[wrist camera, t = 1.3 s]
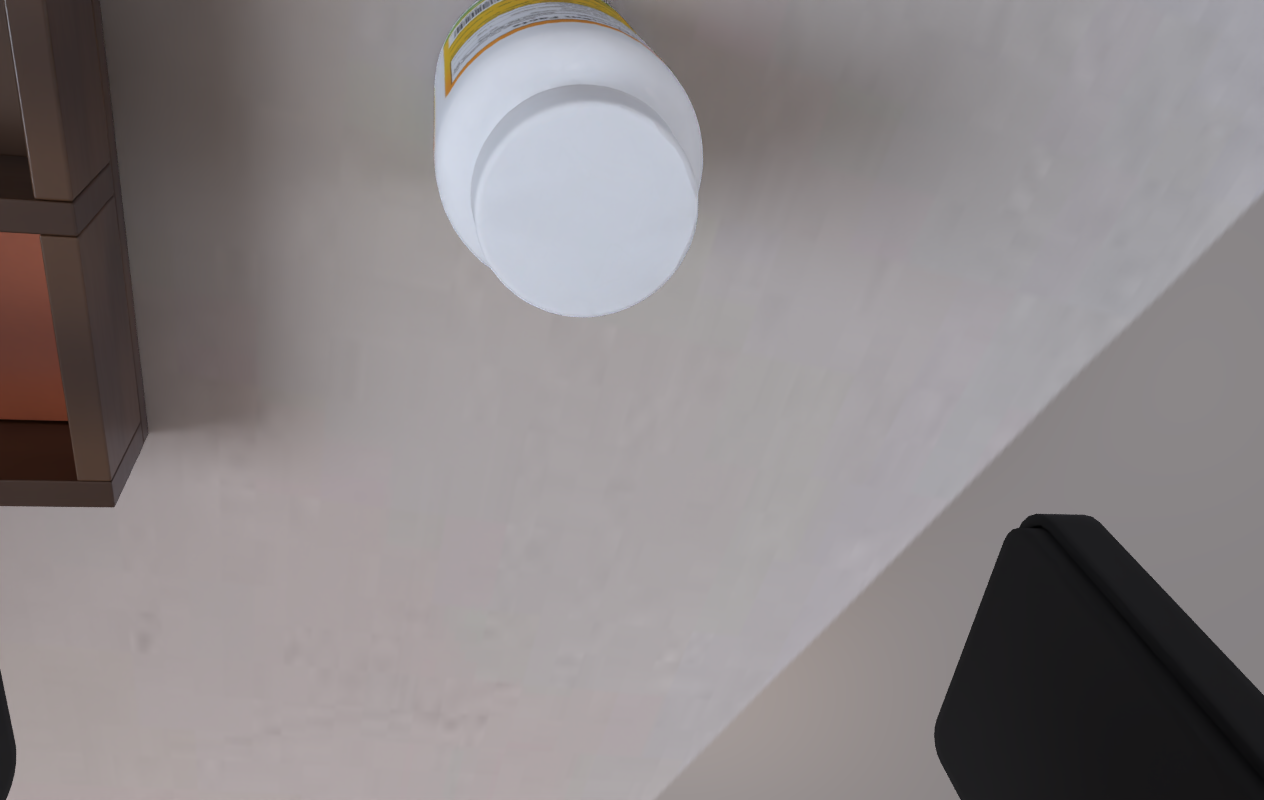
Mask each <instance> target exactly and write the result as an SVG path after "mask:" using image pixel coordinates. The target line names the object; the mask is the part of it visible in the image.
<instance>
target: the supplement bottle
mask: <svg viewBox="0 0 1264 800" xmlns="http://www.w3.org/2000/svg"><path fill="white" fill-rule="evenodd" d="M434 166H435V173H436V180H437V185H438V190H439V194H440V197H441V201H442V204H443V207H444V209H445V212H446V214H447V217H448V219H449V221H450V222H451V224H452V226H453V228H454V230H455V231H456V233H457V234H458V236H459V237H460V239H461V240H462V242H463V243H464V244H465V245H466V246H467V248H468V249H469V250H470V251H471V252H472V253H473V254H474V255H475V256H476V257H477V258H478V259H479V260H480V261H481V262H482V263H483V264H485V265H486V266H488V267H489V268H490V269H492V270H493V272H494V273H495V275H496V276H497V277H498V278H499V280H500V281H501V282H502V283H503V284H504V285H505V286H506V287H507V288H508V289H509V290H511V291H512V292H513V293H514V294H515V295H516V296H518V297H519V298H521V299H522V300H524V301H525V302H527V303H529V304H531V305H533V306H535V307H537V308H539V309H542V310H544V311H547V312H550V313H553V314H559V315H563V316H569V317H583V318H585V317H597V316H603V315H608V314H612V313H616V312H619V311H622V310H624V309H627V308H629V307H632V306H634V305H636V304H637V303H639V302H641V301H643V300H645V299H646V298H648V297H649V296H651V295H652V294H653V293H654V292H656V291H657V290H658V289H659V288H661V287H662V286H663V285H664V284H665V283H666V282H667V281H668V280H669V279H670V277H671V276H672V275H673V274H674V272H675V271H676V270H677V269H678V267H679V266H680V264H681V263H682V261H683V259H684V257H685V255H686V253H687V252H688V250H689V248H690V245H691V242H692V240H693V237H694V233H695V229H696V225H697V219H698V191H699V188H700V183H701V178H702V170H703V147H702V138H701V132H700V127H699V124H698V120H697V117H696V114H695V111H694V108H693V106H692V103H691V101H690V99H689V97H688V95H687V93H686V92H685V90H684V88H683V87H682V85H681V84H680V82H679V81H678V80H677V78H676V77H675V75H674V74H673V73H672V72H671V70H670V69H669V68H668V67H667V65H666V64H665V63H664V62H663V61H662V60H661V59H660V57H659V56H657V55H656V54H655V52H654V51H653V50H652V49H651V48H650V47H649V46H648V45H647V44H646V43H645V42H644V41H643V40H642V39H641V38H640V37H639V36H638V35H637V34H636V32H635V31H634V30H633V29H632V28H631V27H630V26H629V25H628V23H627V22H626V21H625V20H624V19H623V18H622V17H621V16H620V15H619V14H618V13H617V12H616V11H615V10H614V9H613V8H611V7H610V6H609V5H608V4H606V3H605V2H604V1H602V0H477V1H476V2H475V3H474V4H472V5H471V6H470V7H469V8H468V9H467V10H466V11H465V12H464V13H463V14H462V15H461V17H460V18H459V19H458V20H457V22H456V23H455V24H454V26H453V27H452V29H451V30H450V32H449V34H448V36H447V38H446V40H445V42H444V44H443V47H442V49H441V52H440V55H439V59H438V63H437V68H436V75H435V85H434Z"/></svg>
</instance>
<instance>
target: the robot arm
mask: <svg viewBox="0 0 1264 800" xmlns="http://www.w3.org/2000/svg"><path fill="white" fill-rule="evenodd" d="M934 738H935V746H936V751H937V755H938V757H939V759H940V762H941V764H942V766H943V767H944V769H945V771H946V773H947V775H948V777H949V778H950V781H951V782H952V784H953V786H954V788H955V790H956V792H957V794H958V796H959V797H960V799H961V800H1264V695H1263V694H1262V693H1261V692H1260V691H1259V690H1258V689H1257V688H1256V687H1255V686H1254V685H1253V684H1252V682H1251V681H1250V680H1249V679H1248V678H1247V677H1246V676H1245V675H1244V674H1243V673H1242V672H1241V671H1240V670H1239V669H1238V668H1237V667H1236V666H1235V665H1234V663H1233V662H1232V661H1231V660H1230V659H1229V658H1228V657H1227V656H1226V655H1225V654H1224V653H1223V652H1222V651H1221V650H1220V649H1219V648H1218V647H1217V646H1216V645H1215V644H1214V643H1213V642H1212V640H1211V639H1210V638H1209V637H1208V636H1207V635H1206V634H1205V633H1204V632H1203V631H1202V630H1201V629H1200V628H1199V627H1198V626H1197V624H1196V623H1194V621H1193V620H1192V619H1191V618H1190V617H1189V616H1188V615H1187V614H1186V613H1185V612H1184V611H1183V610H1182V609H1181V608H1180V607H1179V606H1178V604H1177V603H1176V602H1175V601H1174V600H1173V599H1172V598H1171V597H1170V596H1169V595H1168V594H1167V593H1166V592H1165V591H1164V590H1163V589H1162V588H1161V586H1160V585H1159V584H1158V583H1157V582H1156V581H1155V580H1154V579H1153V578H1152V577H1151V576H1150V575H1149V574H1148V573H1147V572H1146V571H1145V570H1144V569H1143V568H1142V567H1141V565H1140V564H1139V563H1138V562H1137V561H1136V560H1135V559H1134V558H1133V557H1132V556H1131V555H1130V554H1129V553H1128V552H1127V551H1126V550H1125V549H1124V547H1123V546H1122V545H1121V544H1120V543H1119V542H1118V541H1117V540H1116V539H1115V538H1114V537H1113V536H1112V535H1111V534H1110V533H1109V532H1108V531H1107V530H1106V528H1105V527H1104V526H1103V525H1102V524H1101V523H1100V522H1098V521H1097V520H1096V519H1094V518H1093V517H1091V516H1086V515H1064V514H1035V515H1031V516H1028V517H1027V518H1026V520H1024V521H1023V522H1022V524H1021V525H1020V527H1019V528H1017V529H1013V530H1012V531H1011V532H1009V533H1008V535H1007V536H1006V538H1005V540H1004V543H1003V545H1002V548H1001V551H1000V553H999V556H998V558H997V561H996V564H995V566H994V569H993V572H992V574H991V577H990V580H989V582H988V585H987V588H986V590H985V593H984V596H983V598H982V601H981V603H980V606H979V609H978V611H977V614H976V617H975V620H974V622H973V625H972V627H971V630H970V633H969V635H968V638H967V641H966V643H965V646H964V649H963V651H962V654H961V657H960V660H959V662H958V665H957V667H956V670H955V673H954V676H953V678H952V681H951V683H950V686H949V688H948V691H947V694H946V696H945V699H944V702H943V704H942V707H941V710H940V712H939V715H938V718H937V721H936V725H935V733H934ZM15 766H16V745H15V739H14V735H13V730H12V725H11V720H10V715H9V710H8V705H7V700H6V696H5V691H4V686H3V681H2V676H1V671H0V800H6V798H7V796H8V793H9V791H10V788H11V785H12V781H13V777H14V773H15Z"/></svg>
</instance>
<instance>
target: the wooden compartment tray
mask: <svg viewBox="0 0 1264 800" xmlns="http://www.w3.org/2000/svg"><path fill="white" fill-rule="evenodd" d="M147 436H148V425H147V416H146V407H145V399H144V390H143V381H142V372H141V363H140V354H139V346H138V337H137V328H136V319H135V310H134V301H133V293H132V284H131V275H130V266H129V257H128V248H127V240H126V231H125V222H124V213H123V204H122V195H121V187H120V178H119V169H118V160H117V151H116V142H115V134H114V125H113V116H112V107H111V98H110V89H109V81H108V72H107V63H106V54H105V45H104V36H103V28H102V19H101V10H100V1H99V0H0V506H45V507H115V505H116V503H117V501H118V499H119V496H120V494H121V492H122V490H123V488H124V486H125V484H126V481H127V479H128V477H129V475H130V473H131V471H132V469H133V466H134V464H135V462H136V460H137V458H138V456H139V454H140V451H141V449H142V447H143V444H144V442H145V440H146V438H147Z"/></svg>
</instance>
